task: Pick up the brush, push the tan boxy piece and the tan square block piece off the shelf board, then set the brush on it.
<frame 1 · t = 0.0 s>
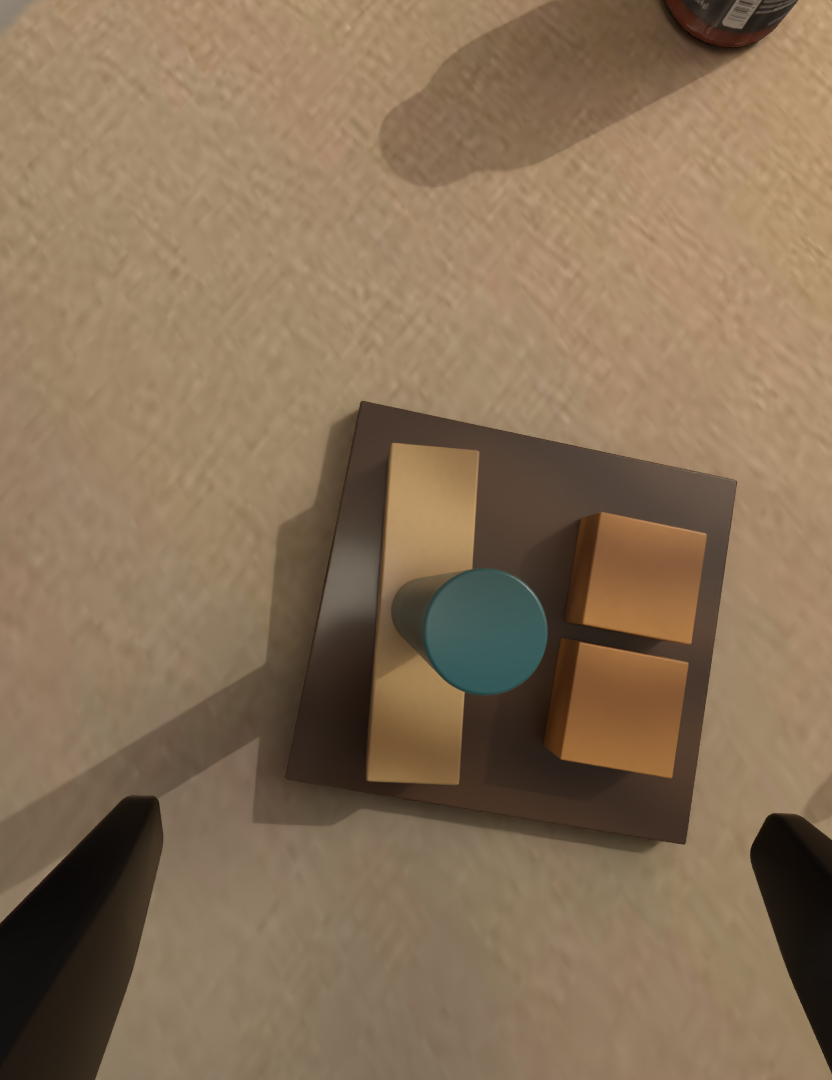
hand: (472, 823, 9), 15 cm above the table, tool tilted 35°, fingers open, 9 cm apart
brush: (417, 608, 23), point 1 cm above the table, touching shelf board
tan boxy piece: (603, 700, 24), point 1 cm above the table, touching shelf board
tan square block piece: (622, 579, 24), point 1 cm above the table, touching shelf board
shelf board: (516, 620, 25), on the table
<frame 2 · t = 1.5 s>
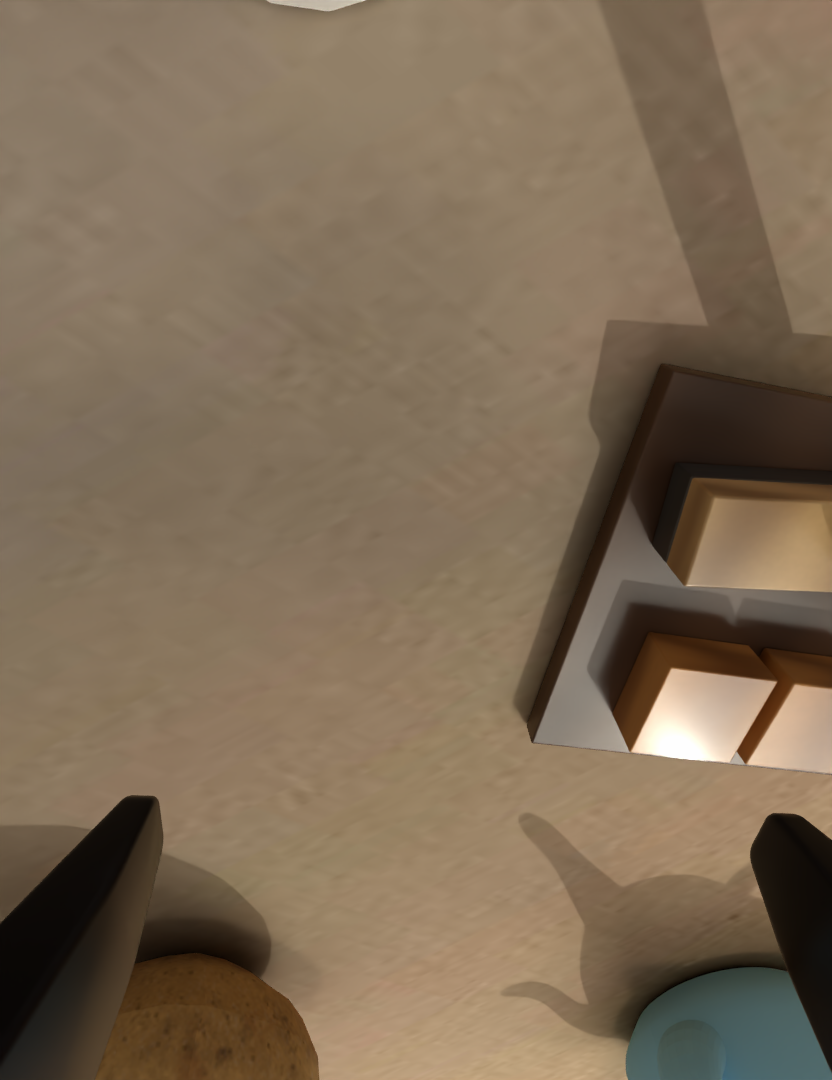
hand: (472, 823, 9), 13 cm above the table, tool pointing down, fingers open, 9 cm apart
brush: (822, 513, 21), point 1 cm above the table, touching shelf board
teapot: (706, 1017, 39), on the table
tan boxy piece: (678, 680, 24), point 1 cm above the table, touching shelf board
tan square block piece: (787, 693, 25), point 1 cm above the table, touching shelf board
shelf board: (759, 597, 24), on the table
potato: (195, 965, 33), on the table
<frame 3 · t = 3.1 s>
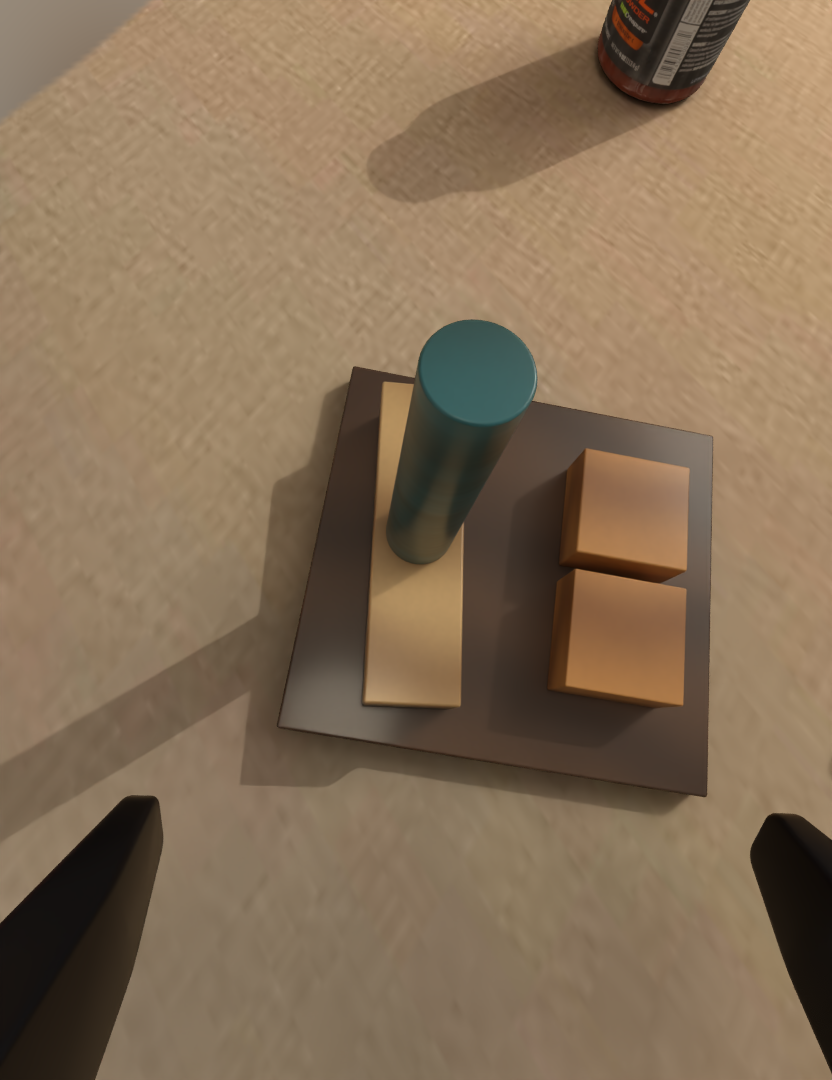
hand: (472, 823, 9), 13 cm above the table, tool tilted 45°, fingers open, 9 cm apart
brush: (411, 553, 23), point 1 cm above the table, touching shelf board
tan boxy piece: (605, 643, 23), point 1 cm above the table, touching shelf board
tan square block piece: (612, 525, 25), point 1 cm above the table, touching shelf board
supplement bottle: (646, 70, 33), on the table
shelf board: (511, 572, 25), on the table
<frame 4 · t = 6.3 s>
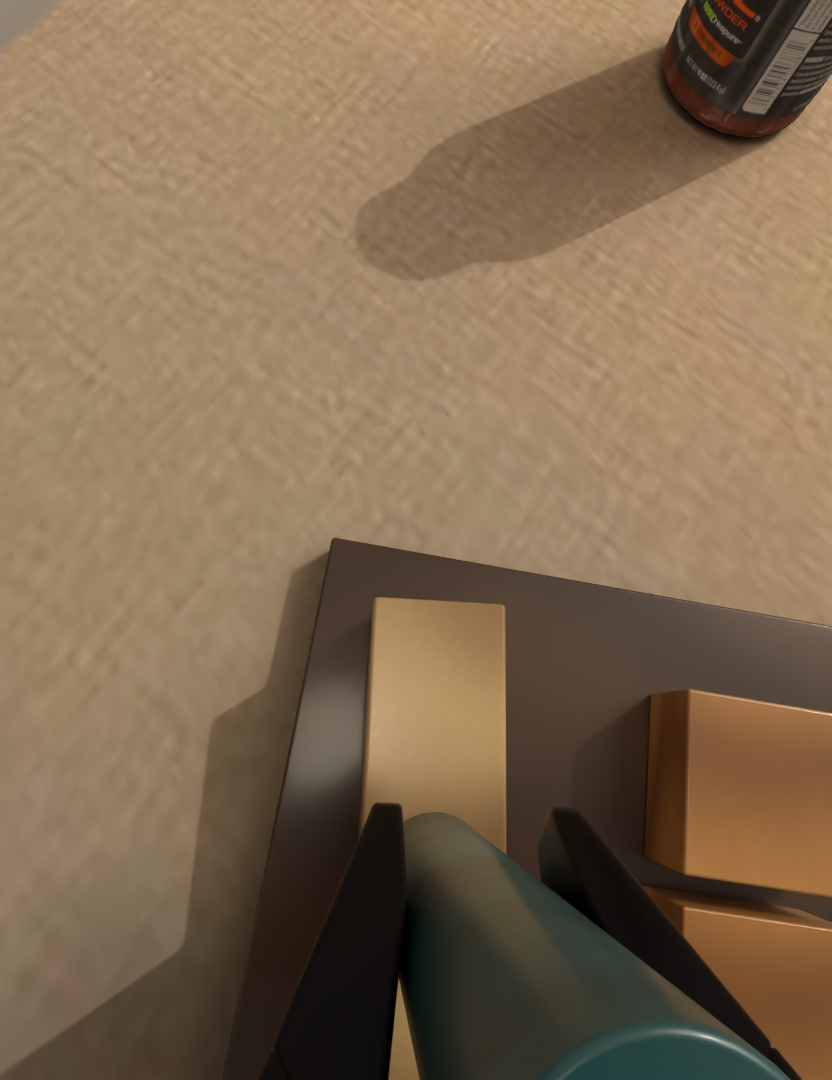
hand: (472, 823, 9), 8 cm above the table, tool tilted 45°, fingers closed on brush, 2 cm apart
brush: (419, 848, 15), point 1 cm above the table, touching gripper, shelf board
tan boxy piece: (719, 991, 15), point 1 cm above the table, touching shelf board
tan square block piece: (721, 784, 16), point 1 cm above the table, touching shelf board
supplement bottle: (725, 92, 25), on the table
shelf board: (569, 854, 16), on the table
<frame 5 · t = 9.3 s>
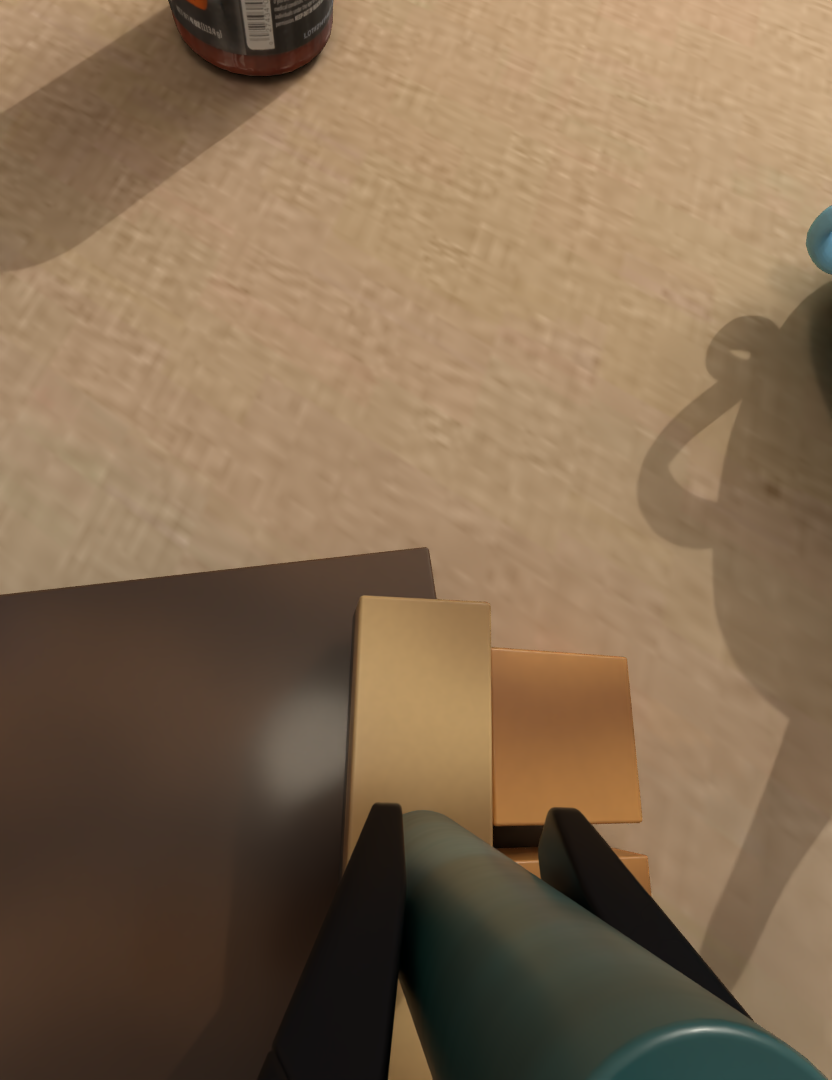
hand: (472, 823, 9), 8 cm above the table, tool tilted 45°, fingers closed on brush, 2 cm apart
brush: (403, 845, 15), point 2 cm above the table, touching gripper
tan boxy piece: (536, 936, 16), point 1 cm above the table, tilted 12°
tan square block piece: (526, 736, 17), point 1 cm above the table, tilted 14°, touching shelf board
supplement bottle: (256, 32, 24), on the table
shelf board: (171, 856, 16), on the table
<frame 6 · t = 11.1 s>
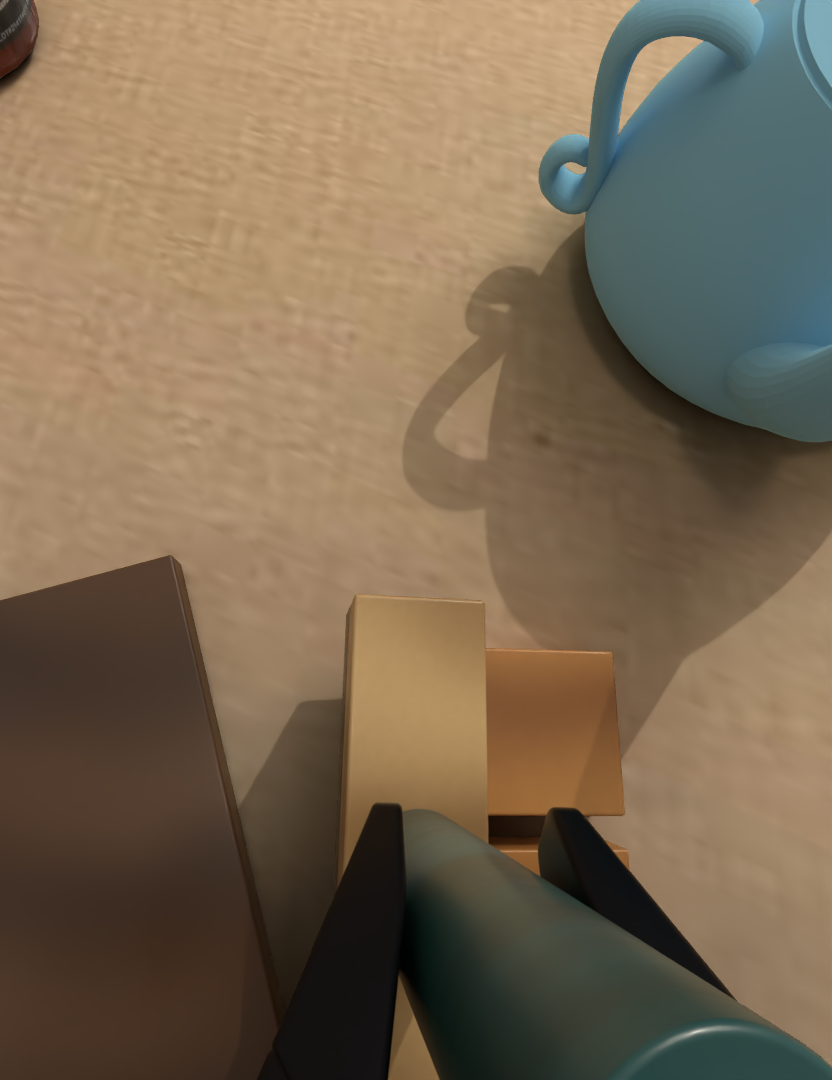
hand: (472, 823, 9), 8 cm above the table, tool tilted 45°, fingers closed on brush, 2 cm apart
brush: (398, 844, 15), point 2 cm above the table, touching tan boxy piece, tan square block piece, gripper
teapot: (764, 305, 23), on the table
tan boxy piece: (528, 921, 16), on the table, touching brush
tan square block piece: (521, 729, 18), on the table, touching brush
when the fingers open (8 cm above the table, at t = 13.9 s): brush stays where it is, resting on shelf board.
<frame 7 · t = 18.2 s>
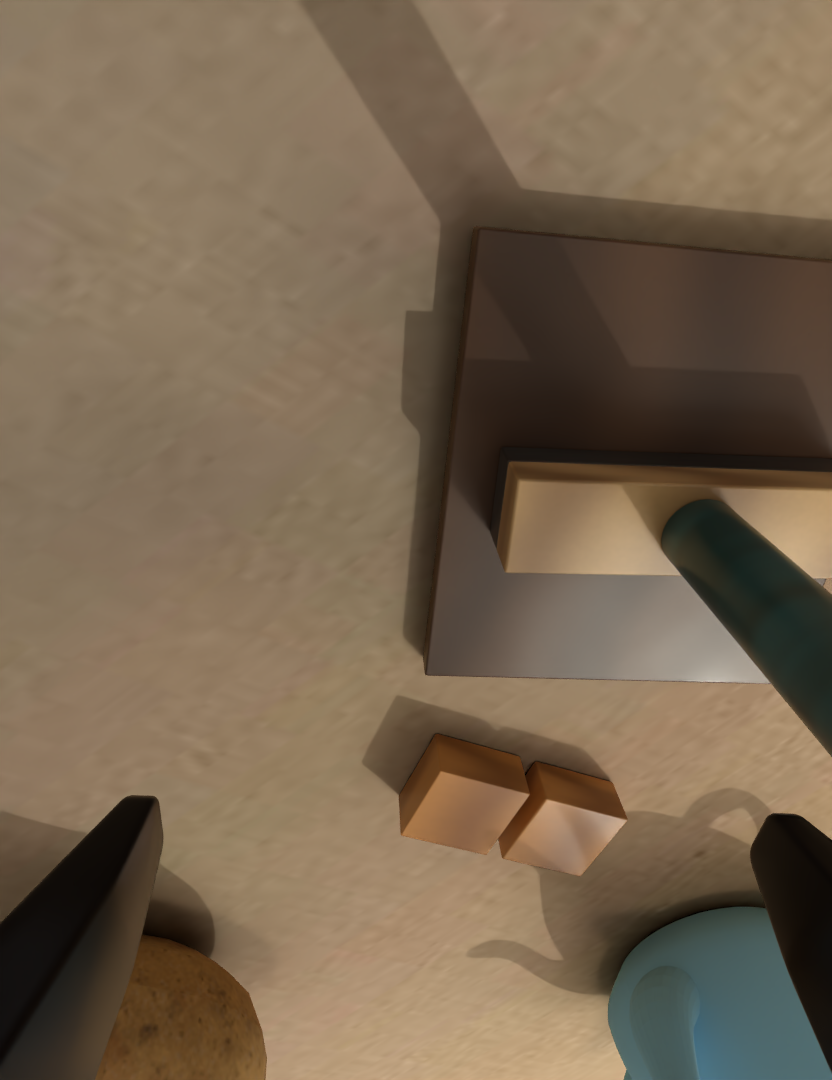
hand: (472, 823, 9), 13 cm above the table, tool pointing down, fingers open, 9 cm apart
brush: (661, 495, 21), point 1 cm above the table, touching shelf board
teapot: (694, 965, 37), on the table
tan boxy piece: (458, 776, 28), on the table
tan square block piece: (552, 800, 29), on the table
shelf board: (647, 489, 22), on the table
potato: (141, 948, 32), on the table
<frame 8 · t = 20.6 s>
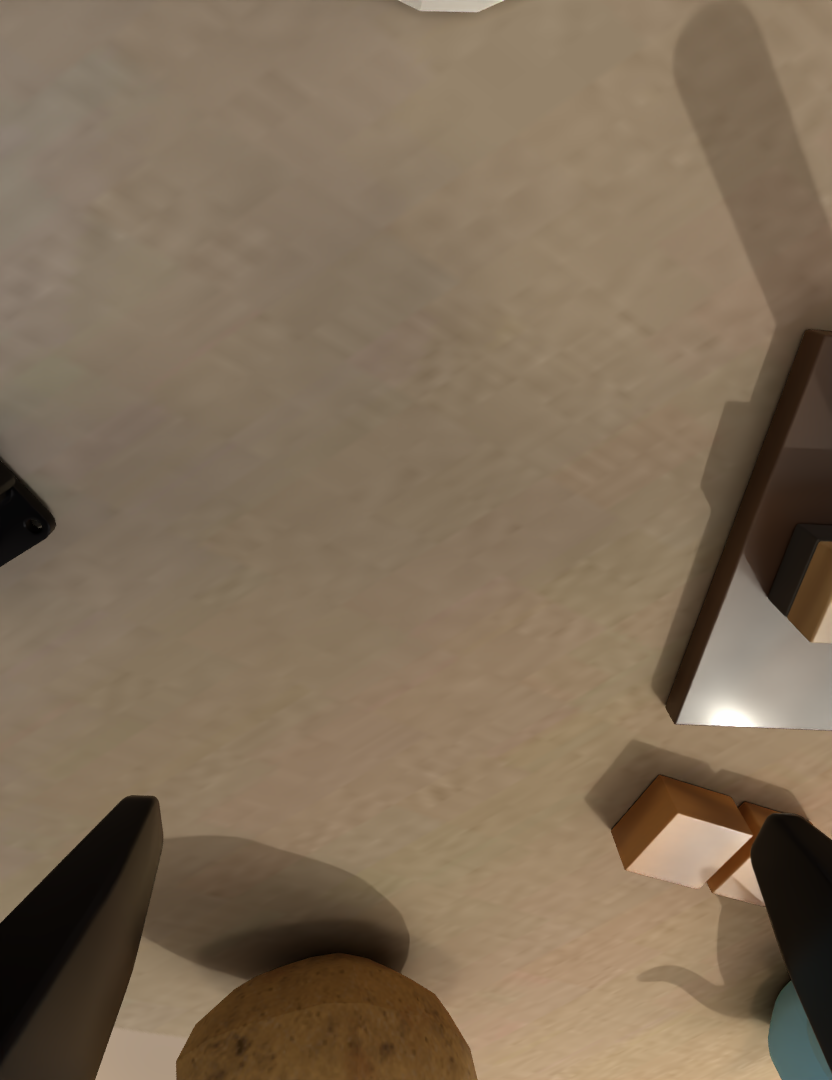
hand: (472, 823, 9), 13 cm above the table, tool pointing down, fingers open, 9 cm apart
tan boxy piece: (670, 813, 29), on the table
tan square block piece: (751, 837, 30), on the table
potato: (335, 965, 34), on the table
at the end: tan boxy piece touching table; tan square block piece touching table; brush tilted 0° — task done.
